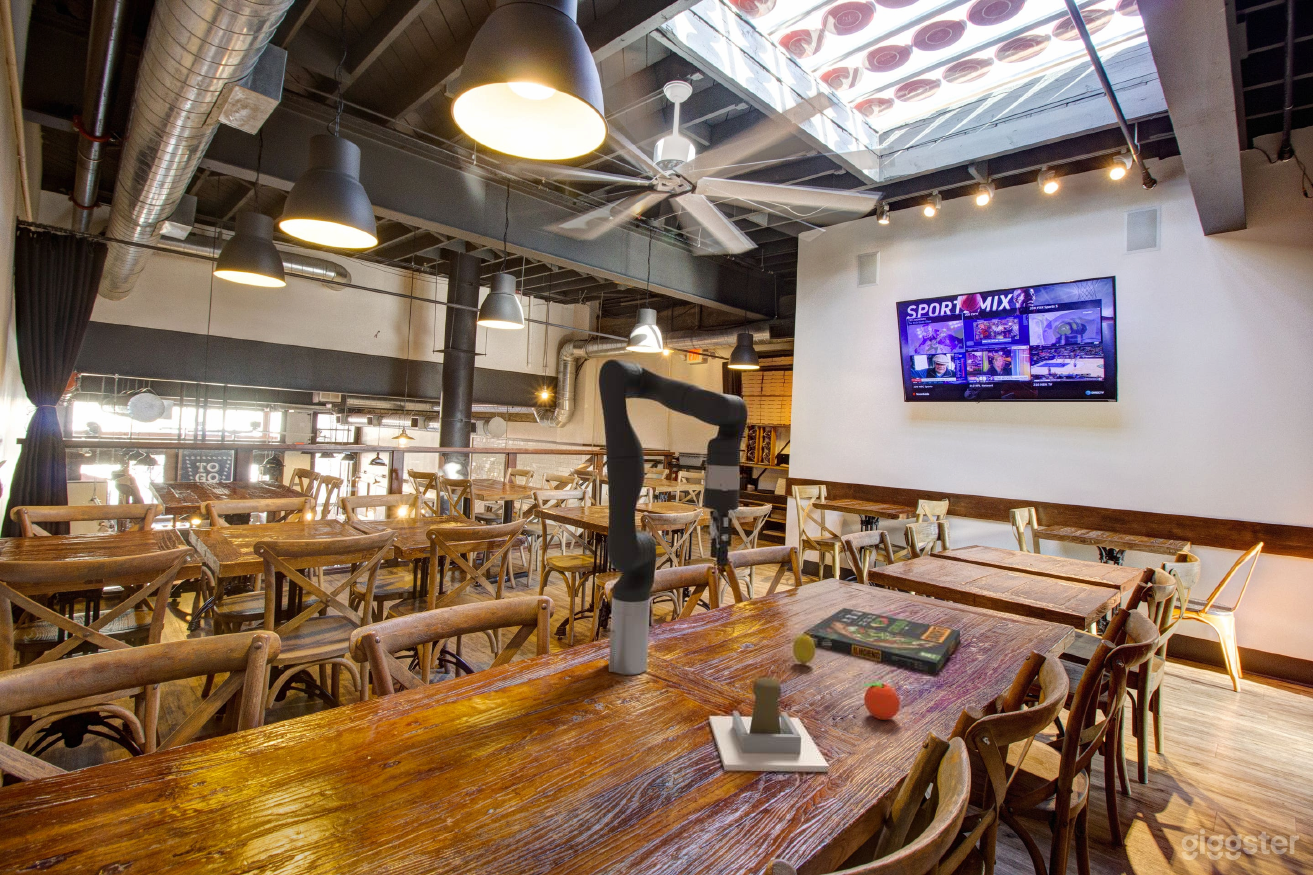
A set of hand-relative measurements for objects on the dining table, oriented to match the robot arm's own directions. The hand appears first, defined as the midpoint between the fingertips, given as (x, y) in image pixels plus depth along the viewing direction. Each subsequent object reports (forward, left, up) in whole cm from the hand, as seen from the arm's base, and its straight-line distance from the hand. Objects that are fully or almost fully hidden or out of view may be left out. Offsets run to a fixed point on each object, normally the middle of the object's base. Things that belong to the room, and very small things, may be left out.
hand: (718, 561), depth 129 cm
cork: (+7, -18, -29) cm, 35 cm away
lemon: (+27, +23, -30) cm, 47 cm away
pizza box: (+57, +43, -31) cm, 78 cm away
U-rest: (+7, -18, -30) cm, 36 cm away
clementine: (+34, -6, -30) cm, 46 cm away
